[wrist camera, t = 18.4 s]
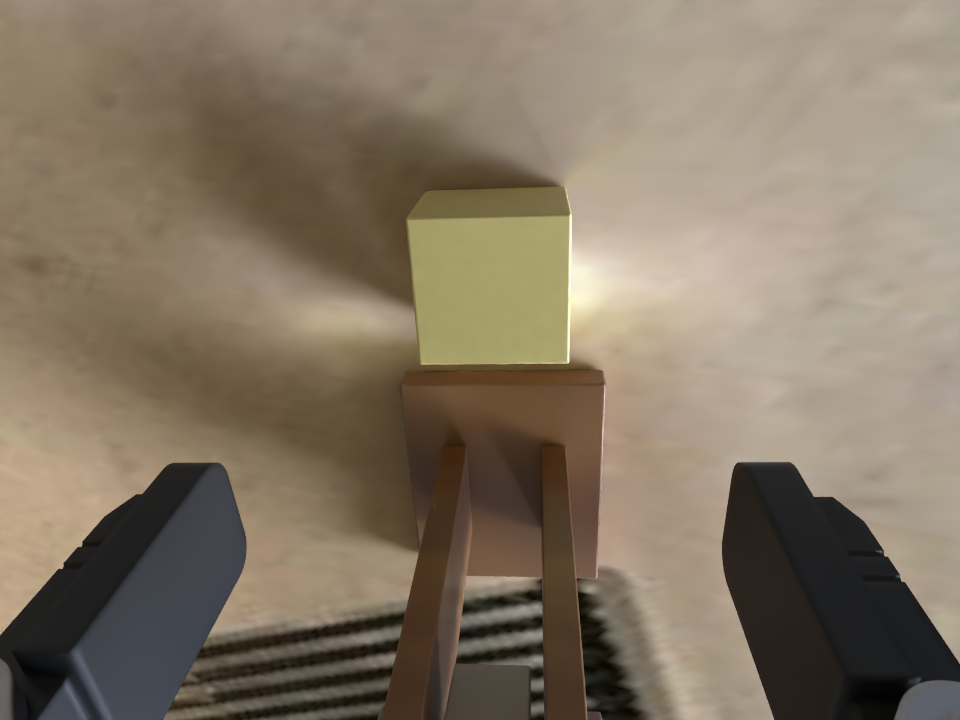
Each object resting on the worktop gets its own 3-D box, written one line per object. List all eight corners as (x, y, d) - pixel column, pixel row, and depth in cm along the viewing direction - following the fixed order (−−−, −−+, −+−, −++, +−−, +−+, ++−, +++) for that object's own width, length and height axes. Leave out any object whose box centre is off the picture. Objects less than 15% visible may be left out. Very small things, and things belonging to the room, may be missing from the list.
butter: (435, 319, 25) (419, 365, 22) (424, 190, 23) (404, 217, 19) (563, 317, 25) (569, 364, 21) (565, 185, 23) (572, 213, 19)
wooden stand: (404, 371, 26) (291, 662, 14) (603, 369, 26) (668, 675, 13) (425, 557, 31) (353, 903, 18) (595, 559, 30) (638, 922, 18)
